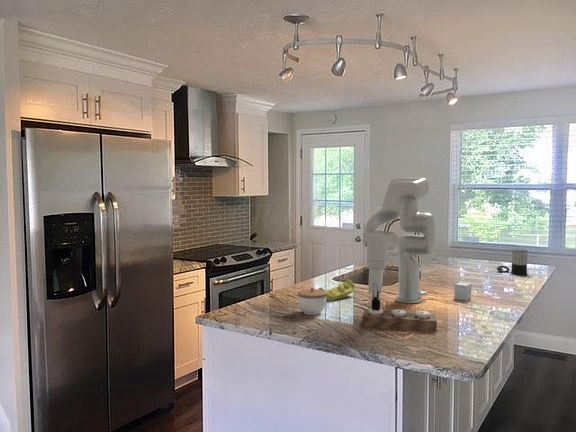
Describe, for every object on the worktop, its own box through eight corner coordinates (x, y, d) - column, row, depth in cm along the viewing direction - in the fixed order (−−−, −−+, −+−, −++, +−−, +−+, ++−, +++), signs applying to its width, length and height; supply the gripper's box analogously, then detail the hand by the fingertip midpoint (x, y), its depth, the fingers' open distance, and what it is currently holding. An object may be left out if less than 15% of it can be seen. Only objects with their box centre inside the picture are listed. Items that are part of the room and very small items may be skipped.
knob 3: (424, 323, 194) (424, 309, 194) (432, 326, 189) (433, 313, 188) (412, 324, 192) (412, 311, 192) (420, 328, 187) (421, 314, 187)
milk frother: (530, 275, 296) (531, 251, 295) (504, 275, 296) (504, 251, 295) (519, 271, 310) (520, 248, 309) (494, 271, 310) (495, 248, 309)
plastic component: (331, 297, 230) (318, 285, 236) (327, 309, 233) (314, 297, 239) (359, 288, 242) (346, 277, 249) (355, 300, 246) (342, 288, 252)
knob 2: (401, 321, 196) (401, 308, 196) (409, 325, 191) (409, 311, 191) (389, 322, 194) (389, 309, 194) (396, 326, 189) (397, 313, 189)
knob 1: (378, 320, 198) (378, 307, 198) (385, 323, 193) (385, 310, 193) (366, 321, 196) (366, 308, 196) (373, 325, 191) (373, 311, 191)
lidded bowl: (317, 318, 202) (318, 292, 202) (292, 314, 209) (292, 288, 208) (331, 311, 213) (331, 286, 212) (306, 307, 220) (306, 283, 219)
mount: (362, 326, 191) (362, 316, 191) (364, 319, 201) (364, 309, 200) (436, 331, 184) (436, 321, 184) (434, 324, 194) (435, 314, 194)
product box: (453, 298, 236) (454, 283, 236) (459, 296, 241) (459, 282, 240) (466, 300, 232) (466, 285, 232) (471, 298, 237) (471, 283, 236)
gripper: (368, 261, 201) (367, 304, 202) (365, 266, 186) (364, 313, 188) (386, 261, 199) (386, 305, 200) (385, 267, 185) (384, 315, 186)
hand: (375, 309), depth 194 cm, fingers closed
